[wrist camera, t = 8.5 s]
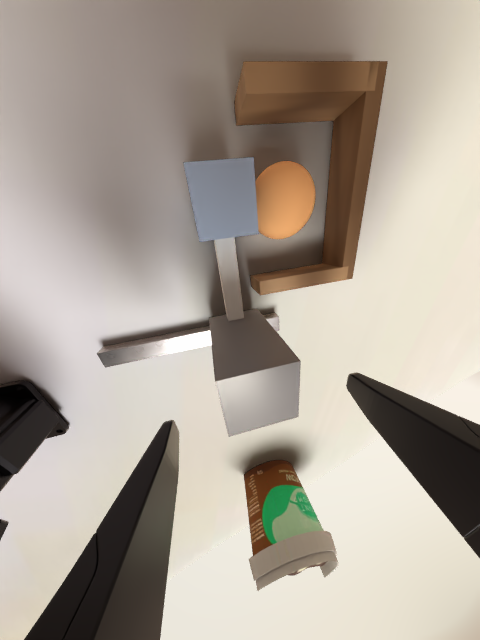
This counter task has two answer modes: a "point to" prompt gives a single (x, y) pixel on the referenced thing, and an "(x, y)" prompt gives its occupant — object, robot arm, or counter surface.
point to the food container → (284, 525)
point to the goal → (346, 152)
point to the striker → (237, 325)
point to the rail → (163, 344)
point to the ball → (284, 199)
